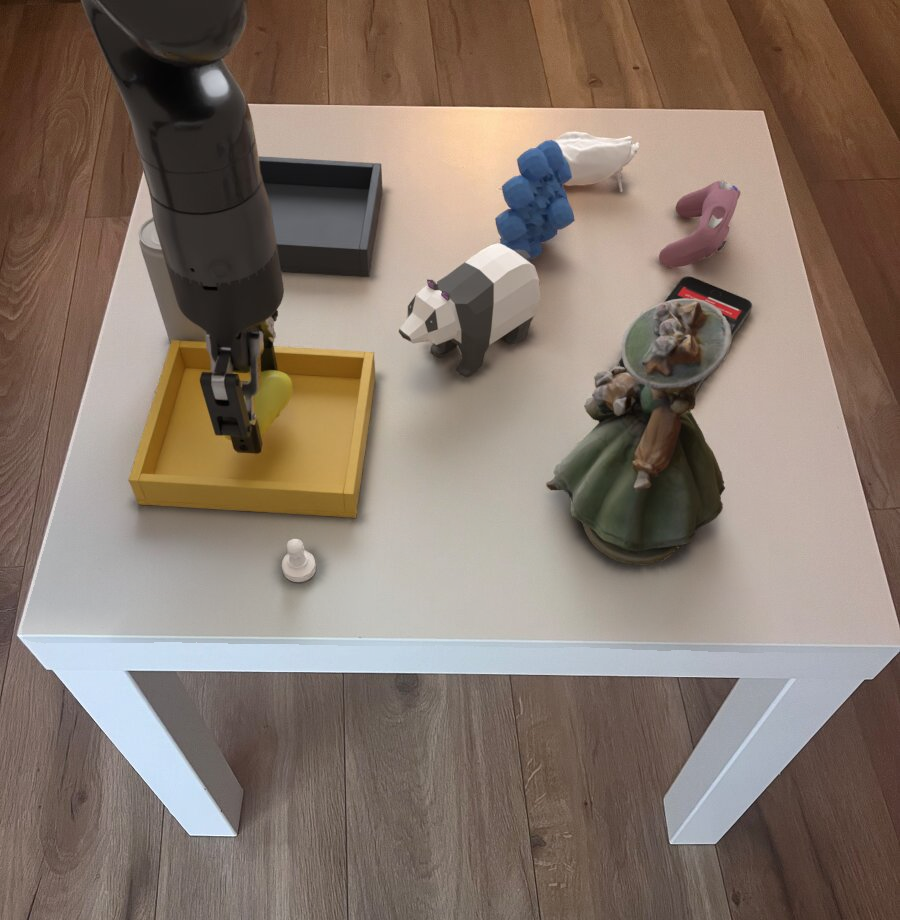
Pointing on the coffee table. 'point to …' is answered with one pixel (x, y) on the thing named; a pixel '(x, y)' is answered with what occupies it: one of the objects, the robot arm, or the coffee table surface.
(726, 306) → the smartphone
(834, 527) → the coffee table surface
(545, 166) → the grapes
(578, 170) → the bird figurine
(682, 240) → the video game controller
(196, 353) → the yellow tray
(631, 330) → the figurine
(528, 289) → the giant panda
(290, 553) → the chess pawn
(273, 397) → the yellow oblong lump
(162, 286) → the beverage can
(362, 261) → the charcoal tray
